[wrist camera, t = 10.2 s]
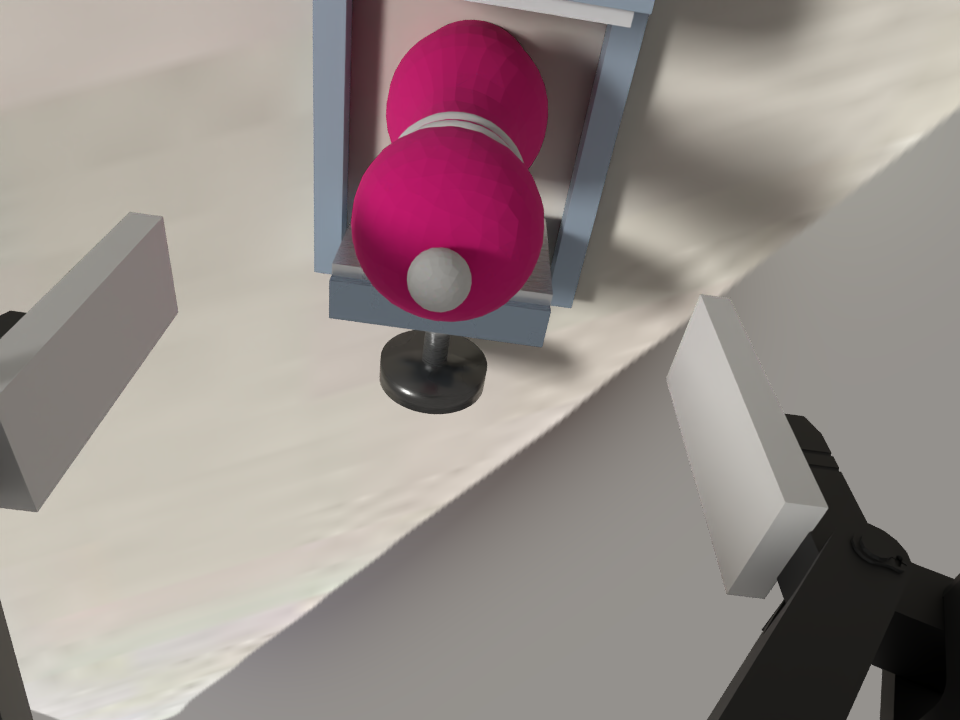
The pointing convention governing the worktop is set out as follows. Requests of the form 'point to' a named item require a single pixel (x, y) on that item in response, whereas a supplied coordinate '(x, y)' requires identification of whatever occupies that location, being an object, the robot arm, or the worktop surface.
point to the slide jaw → (438, 334)
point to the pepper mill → (455, 177)
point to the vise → (626, 13)
